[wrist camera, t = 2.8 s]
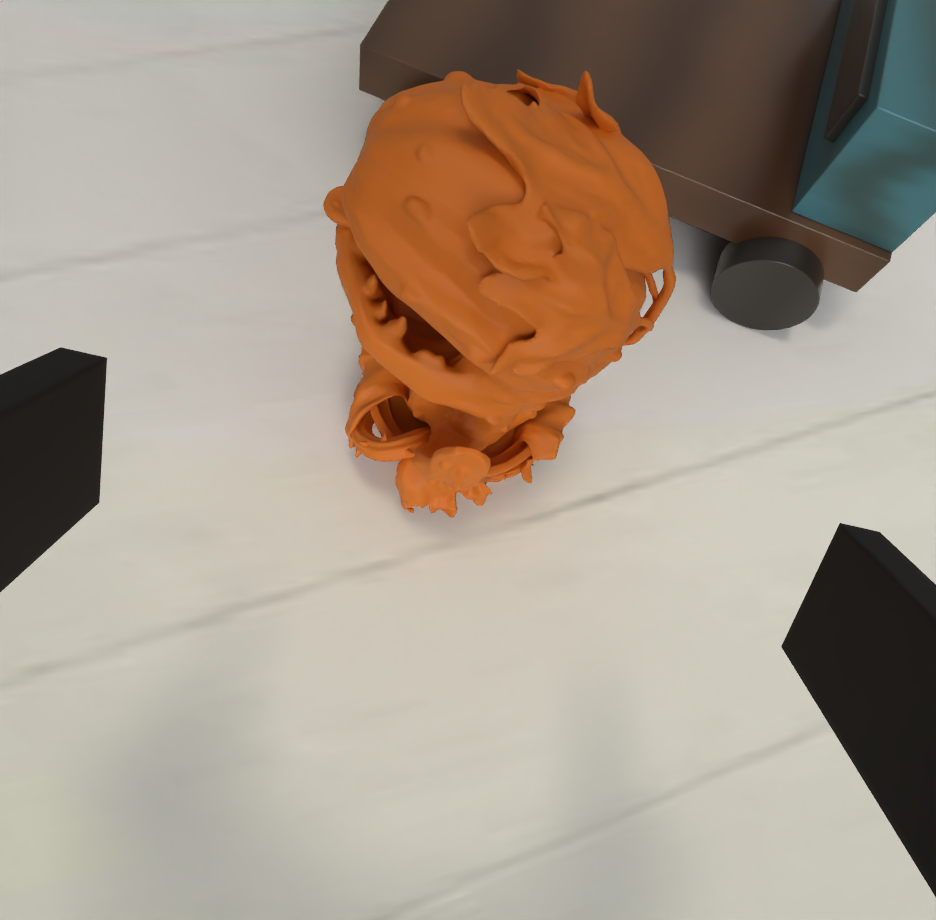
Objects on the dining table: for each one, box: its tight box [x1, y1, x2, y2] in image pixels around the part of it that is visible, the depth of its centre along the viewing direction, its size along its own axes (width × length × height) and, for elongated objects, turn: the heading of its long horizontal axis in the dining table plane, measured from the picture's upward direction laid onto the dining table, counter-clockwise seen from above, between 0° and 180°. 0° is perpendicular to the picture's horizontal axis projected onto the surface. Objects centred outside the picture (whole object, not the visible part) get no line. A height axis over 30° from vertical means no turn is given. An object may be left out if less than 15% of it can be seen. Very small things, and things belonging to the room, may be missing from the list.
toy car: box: [359, 0, 936, 330], centre depth 37 cm, size 26×21×12 cm
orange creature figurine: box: [323, 70, 676, 517], centre depth 26 cm, size 11×11×18 cm
